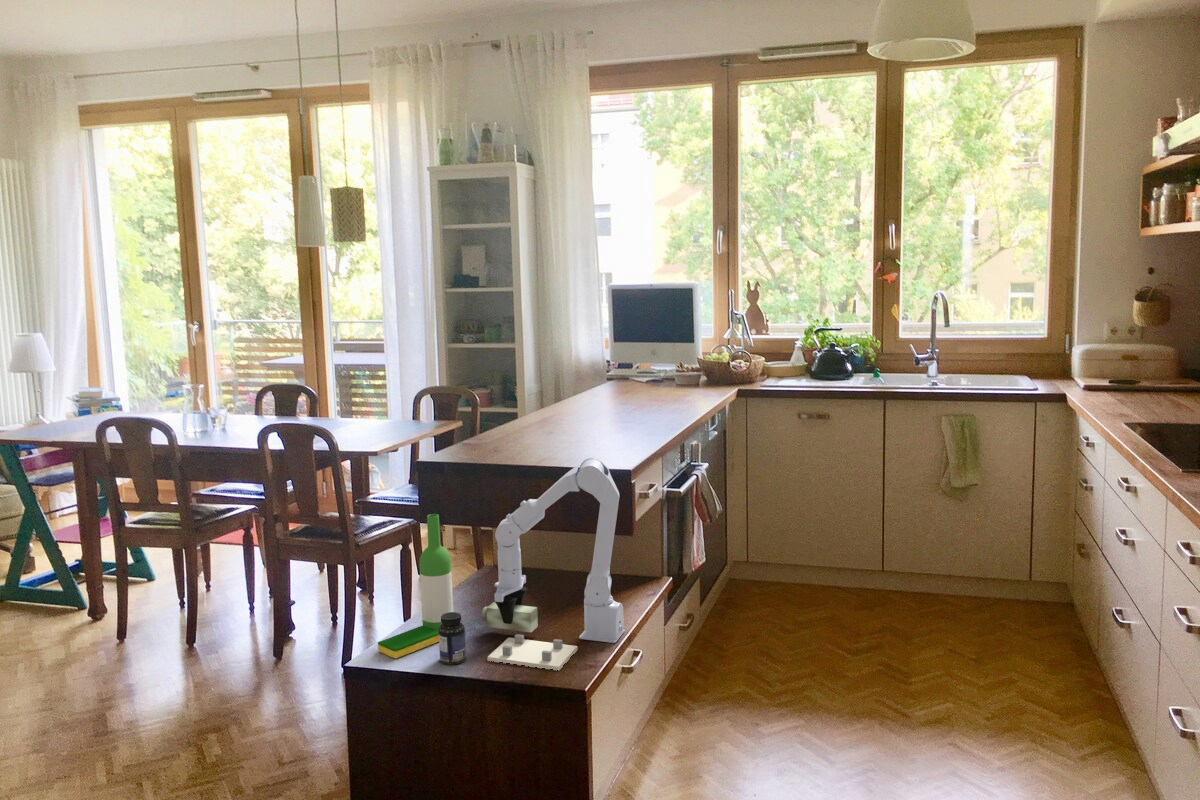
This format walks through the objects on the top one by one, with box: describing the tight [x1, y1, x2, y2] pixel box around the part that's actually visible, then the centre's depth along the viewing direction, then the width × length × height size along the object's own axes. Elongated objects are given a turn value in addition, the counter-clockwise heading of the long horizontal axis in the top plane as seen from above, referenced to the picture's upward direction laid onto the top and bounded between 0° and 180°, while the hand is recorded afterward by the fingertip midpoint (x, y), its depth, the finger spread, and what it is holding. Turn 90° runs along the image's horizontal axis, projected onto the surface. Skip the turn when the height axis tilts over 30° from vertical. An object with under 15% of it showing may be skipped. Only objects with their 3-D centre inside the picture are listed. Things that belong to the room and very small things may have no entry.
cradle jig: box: [486, 633, 578, 672], centre depth 231 cm, size 18×12×3 cm, turn 71°
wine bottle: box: [419, 513, 454, 631], centre depth 244 cm, size 8×8×30 cm
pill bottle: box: [438, 611, 467, 666], centre depth 229 cm, size 6×6×11 cm
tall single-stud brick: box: [481, 601, 539, 633], centre depth 243 cm, size 14×4×5 cm, turn 70°
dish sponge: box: [377, 625, 439, 659], centre depth 238 cm, size 7×14×2 cm, turn 138°
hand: (511, 619), depth 243 cm, fingers closed on tall single-stud brick, 4 cm apart
